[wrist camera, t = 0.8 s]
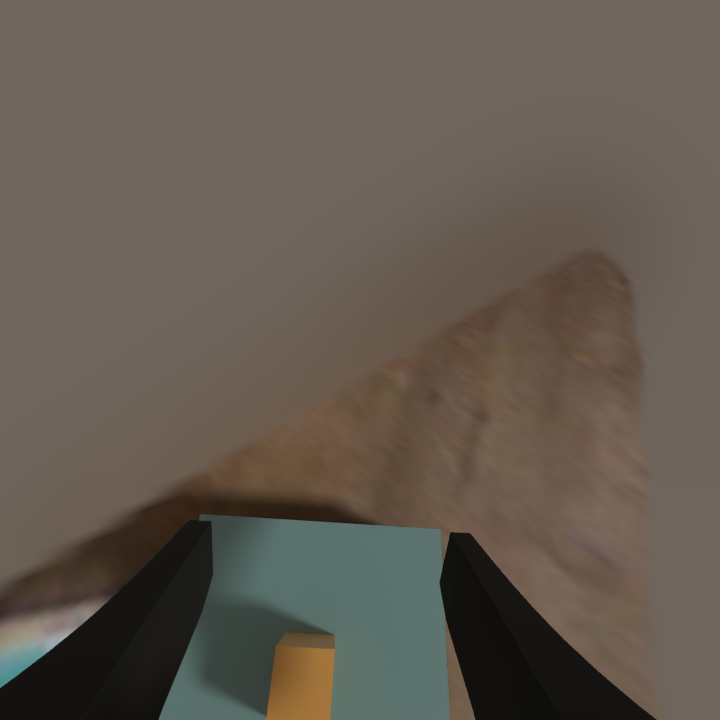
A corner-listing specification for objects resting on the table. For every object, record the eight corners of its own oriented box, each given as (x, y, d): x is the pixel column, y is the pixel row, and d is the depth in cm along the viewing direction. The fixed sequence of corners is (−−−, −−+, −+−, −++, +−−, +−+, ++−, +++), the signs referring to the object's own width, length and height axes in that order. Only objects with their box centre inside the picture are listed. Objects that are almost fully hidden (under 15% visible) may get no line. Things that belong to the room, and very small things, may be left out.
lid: (446, 876, 15) (495, 1008, 10) (128, 863, 14) (37, 994, 10) (433, 532, 21) (460, 521, 16) (209, 517, 21) (174, 503, 16)
